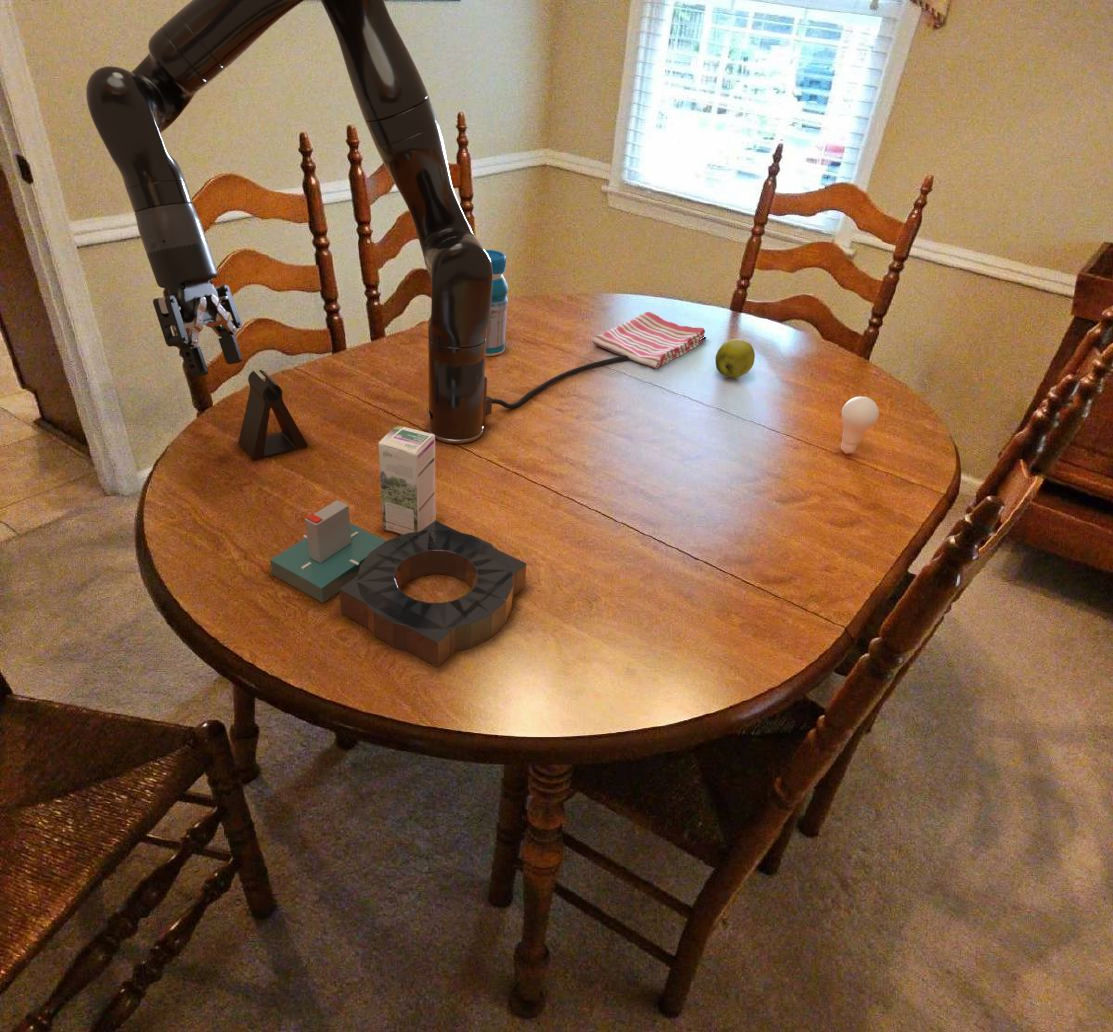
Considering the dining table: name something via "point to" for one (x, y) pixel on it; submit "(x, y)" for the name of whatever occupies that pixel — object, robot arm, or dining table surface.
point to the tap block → (324, 565)
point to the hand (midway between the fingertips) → (218, 369)
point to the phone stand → (257, 421)
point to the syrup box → (407, 480)
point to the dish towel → (650, 339)
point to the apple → (735, 358)
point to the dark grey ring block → (433, 624)
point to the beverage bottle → (497, 305)
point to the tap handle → (328, 531)
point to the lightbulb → (857, 421)
